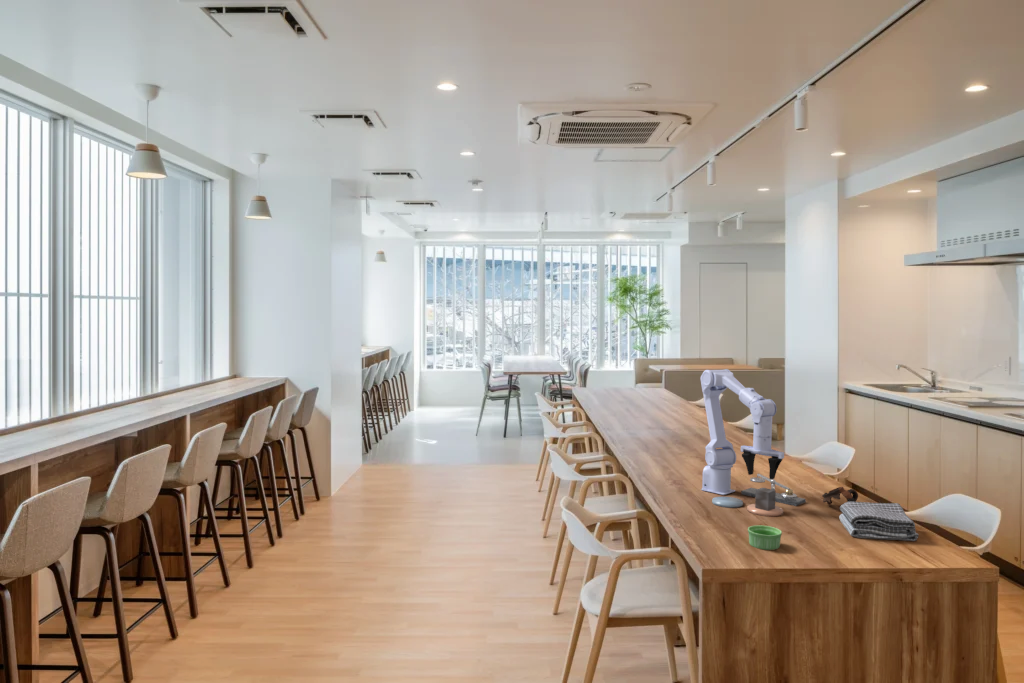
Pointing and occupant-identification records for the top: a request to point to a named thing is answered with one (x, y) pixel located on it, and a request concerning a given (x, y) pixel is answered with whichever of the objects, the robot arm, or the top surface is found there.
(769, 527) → the ramekin
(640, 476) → the top surface
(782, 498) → the balance
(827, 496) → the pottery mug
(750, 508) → the dish
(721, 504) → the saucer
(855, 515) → the towel
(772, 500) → the block
